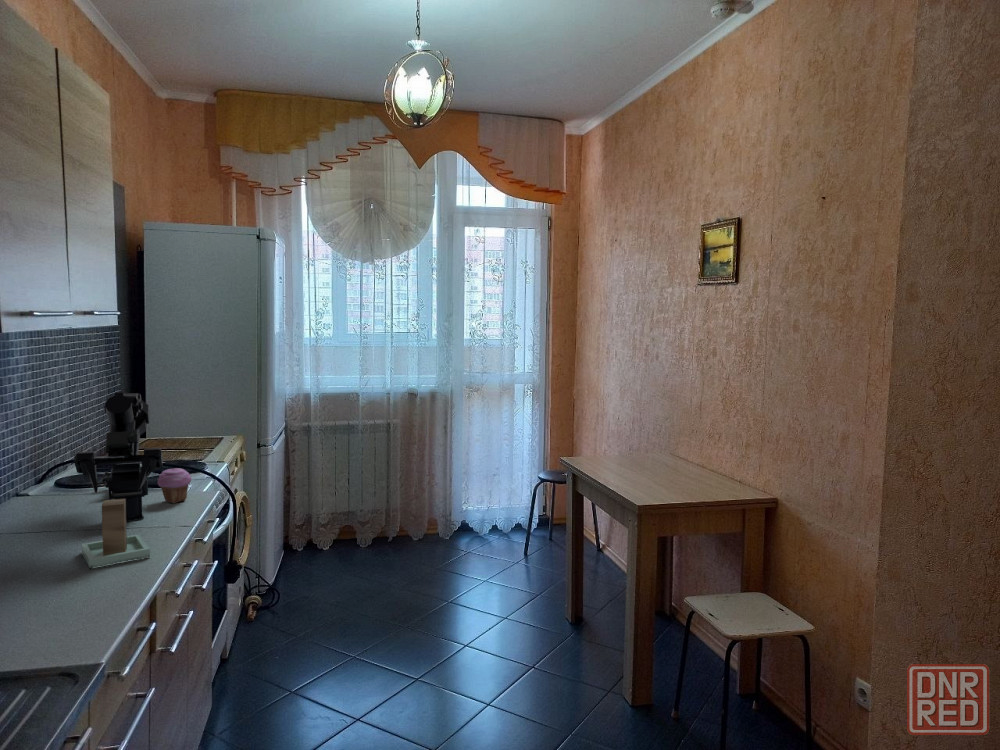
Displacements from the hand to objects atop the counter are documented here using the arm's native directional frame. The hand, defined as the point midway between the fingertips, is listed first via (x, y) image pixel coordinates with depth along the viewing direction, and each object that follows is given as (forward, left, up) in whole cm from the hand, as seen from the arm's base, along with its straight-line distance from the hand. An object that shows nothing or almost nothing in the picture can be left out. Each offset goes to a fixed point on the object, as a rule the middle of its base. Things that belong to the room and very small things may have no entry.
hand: (117, 490), depth 160 cm
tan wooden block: (+2, +7, -13) cm, 15 cm away
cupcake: (-20, -31, -14) cm, 39 cm away
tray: (+2, +7, -14) cm, 16 cm away
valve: (-7, -49, -14) cm, 52 cm away
